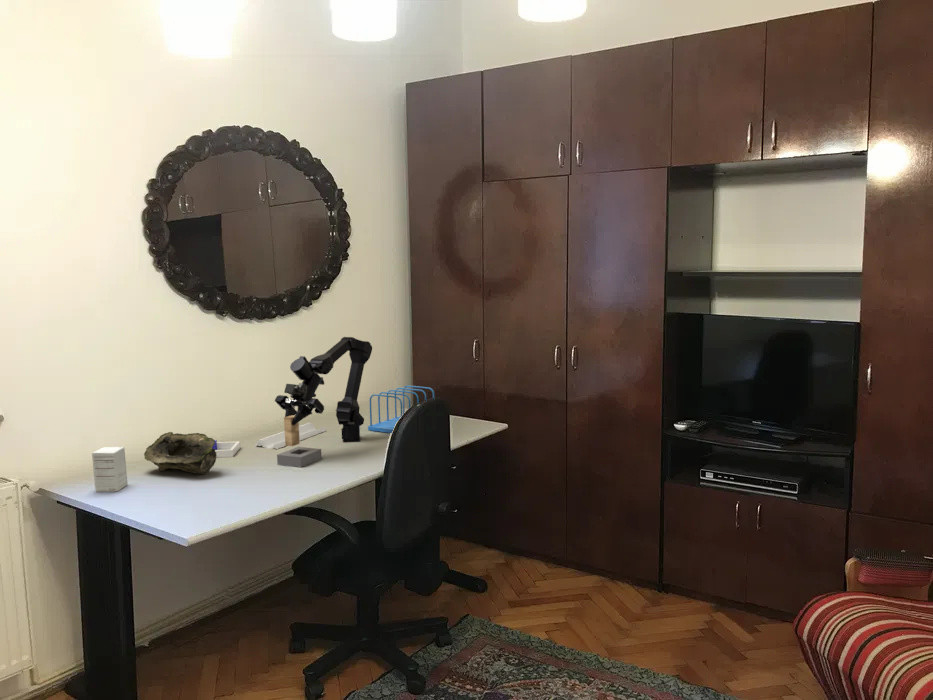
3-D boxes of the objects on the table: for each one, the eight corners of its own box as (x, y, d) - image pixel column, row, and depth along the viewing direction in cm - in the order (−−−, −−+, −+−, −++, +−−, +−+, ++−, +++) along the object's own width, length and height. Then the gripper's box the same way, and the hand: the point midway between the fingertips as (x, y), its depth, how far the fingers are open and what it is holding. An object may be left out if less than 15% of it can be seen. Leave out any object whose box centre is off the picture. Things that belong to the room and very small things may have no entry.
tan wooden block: (293, 442, 282) (291, 415, 281) (299, 443, 280) (298, 415, 279) (285, 445, 278) (283, 417, 277) (291, 446, 277) (290, 418, 276)
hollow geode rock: (216, 490, 264) (239, 451, 272) (193, 471, 255) (217, 431, 262) (160, 476, 278) (182, 440, 286) (136, 458, 269) (160, 421, 276)
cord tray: (240, 447, 301) (239, 441, 300) (232, 456, 288) (232, 450, 287) (205, 449, 300) (204, 442, 300) (196, 458, 287) (195, 451, 287)
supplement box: (105, 485, 256) (102, 446, 255) (128, 484, 256) (125, 446, 255) (94, 492, 249) (91, 452, 248) (117, 491, 249) (114, 452, 247)
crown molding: (277, 451, 297) (276, 441, 297) (252, 448, 303) (251, 439, 302) (326, 432, 325) (326, 423, 325) (302, 430, 330) (302, 421, 330)
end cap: (298, 456, 287) (298, 446, 286) (321, 458, 282) (321, 449, 282) (277, 464, 276) (276, 454, 275) (301, 467, 272) (300, 457, 271)
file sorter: (402, 435, 315) (401, 397, 313) (367, 431, 324) (366, 394, 322) (437, 422, 336) (436, 387, 334) (403, 419, 345) (402, 384, 343)
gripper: (276, 372, 284) (256, 409, 276) (317, 376, 275) (297, 413, 267) (293, 390, 292) (273, 426, 284) (332, 394, 283) (313, 431, 275)
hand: (288, 424), depth 277 cm, fingers closed on tan wooden block, 3 cm apart
